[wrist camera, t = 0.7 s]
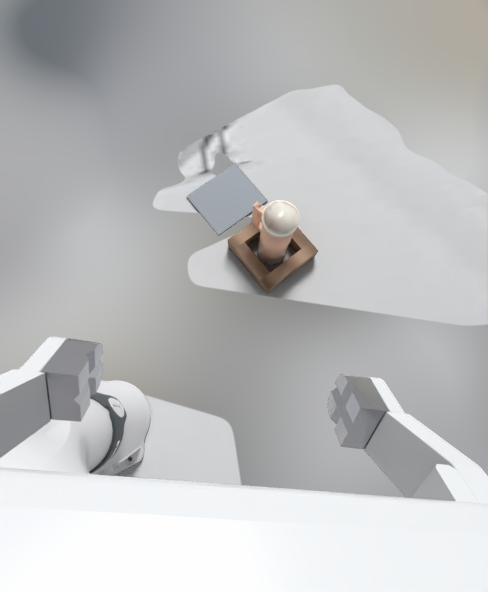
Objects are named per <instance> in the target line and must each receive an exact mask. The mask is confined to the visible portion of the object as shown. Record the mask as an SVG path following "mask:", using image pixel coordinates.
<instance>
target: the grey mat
mask: <svg viewBox="0 0 488 592" xmlns="http://www.w3.org/2000/svg"><path fill="white" fill-rule="evenodd" d="M187 198H188V199H189V200H190V201H191V203H192V204H193V205H194V206H195V208H196V209H197V210H198V211H199V212H200V214H201V215H202V216H203V217H204V219H205V220H206V221H207V222H208V223H209V225H210V226H211V227H212V228H213V230H214V231H215V232H216V233H217V234H218V236H219V235H220V234H222V233H223V232H225V231H226V230H227V229H228V228H230V227H232V226H233V225H234V224H236V223H237V222H239V221H240V220H241V219H243V218H244V217H246V216H247V215H249V214H250V213H251V212H252V210H253V205H254V204H255V203H256V202H257V201H258V202H259V203H260V204H261V205H263V204H264V203H265V202H267V201H268V200H267V199H266V198H265V197H264V195H263V194H262V193H261V192H260V191H259V190H258V189H257V187H256V186H255V185H254V184H253V183H252V182H251V181H250V179H249V178H248V177H247V176H246V175H245V174H244V172H243V171H242V170H241V169H240V168H239V167H238V166H237V164H236V163H235V164H234V165H232V166H231V167H229V168H228V169H226V170H225V171H223V172H222V173H220V174H219V175H217V176H216V177H214V178H213V179H211V180H210V181H208V182H207V183H205V184H204V185H202V186H201V187H199V188H198V189H196V190H195V191H193V192H192V193H191V194H189V195H188V196H187Z"/></svg>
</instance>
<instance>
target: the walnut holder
mask: <svg viewBox="0 0 488 592" xmlns="http://www.w3.org/2000/svg"><path fill="white" fill-rule="evenodd" d="M260 222H261V223H262V216H261V218H260ZM260 233H261V232H259V231H258V230H257V229H256V228H255V227H253V226H252V225H251V224H249V225H248V226H246V227H245V228H244V229H242V230H241V231H239V232H238V233H237V234H235V235H234V236H232V237H231V238H230V239H228V246H229V248H230V249H231V250H232V251H233V253H234V254H235V255H236V256H237V257H238V259H239V260H240V261H241V262H242V264H243V265H244V266H245V267H246V269H247V270H248V271H249V272H250V273H251V275H252V276H253V277H254V278H255V280H256V281H257V282H258V283H259V285H260V286H261V287H262V288H263V289H264V291H265V292H266V293H268V292H269V291H270V290H271V289H273V288H274V287H275V286H277V285H278V284H279V283H281V282H282V281H283V280H285V279H286V278H287V277H288V276H290V275H291V274H292V273H294V272H295V271H296V270H298V269H299V268H300V267H301V266H303V265H304V264H305V263H307V262H308V261H309V260H311V259H312V258H313V257H314V256H315V255H316V254H317V252H318V250H317V249H316V248H315V247H314V245H313V244H312V243H311V242H310V241H309V240H308V239H307V237H306V236H305V235H304V234H303V233H302V232H301V231H300V229H299V228H298V227H297V229H296V230H295V232H294V233H293V236H292V238H291V241H290V243H289V244H290V246H291V247H292V248H293V249H294V250H295V251H296V253H295V254H294V255H293V256H291V257H290V258H289V259H287V260H286V261H285V262H283V263H282V264H281V265H280V266H278V267H277V268H276V269H274V270H273V271H272V272H269V271H268V270H267V269H266V267H265V266H264V265H263V264H262V263H261V261H260V260H259V259H258V258H257V256H256V255H255V254H254V253H253V252H252V250H251V249H250V248H249V247H248V245H249V244H250V243H252V242H253V241H255V240H256V239H257V238H259V237H260Z"/></svg>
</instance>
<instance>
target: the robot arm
mask: <svg viewBox="0 0 488 592" xmlns="http://www.w3.org/2000/svg"><path fill="white" fill-rule="evenodd" d="M102 354H103V346H102V344H101V343H96V342H90V341H83V340H76V339H70V338H69V339H67V338H61V337H54V336H52V337H49V338H47V339H46V341H45V342H44V343H43V344H42V345H41V346H40V347H39V348H38V350H36V352H35V353H34V354H33V355H32V356H31V357H30V358H29V359H28V361H27V362H26V363H25V364H24V365H23V366H22V367H21V368H20V369H19V370H15V369H13V370H11V371H8V372H6V373H4V374H1V375H0V592H488V476H487V475H486V474H485V473H484V472H483V470H482V468H481V467H480V466H478V465H477V464H476V463H474V462H473V461H472V460H470V459H469V458H468V457H466V456H465V455H463V454H462V453H461V452H459V451H458V450H457V449H455V448H454V447H453V446H451V445H450V444H449V443H447V442H446V441H445V440H443V439H442V438H441V437H439V436H438V435H436V434H435V433H434V432H432V431H431V430H430V429H428V428H427V427H426V426H424V425H423V424H422V423H420V422H419V421H418V420H416V419H415V418H414V417H412V416H411V415H409V414H405V413H404V411H403V410H402V408H401V407H400V405H399V403H398V402H397V400H396V399H395V397H394V396H393V394H392V393H391V391H390V390H389V388H388V386H387V385H386V383H385V382H384V381H383V380H382V379H381V378H372V377H360V376H352V375H344V374H340V375H339V376H338V377H337V379H336V382H335V383H336V386H337V388H336V389H334V390H333V391H331V393H330V396H329V398H328V412H329V415H330V418H331V419H332V420H333V421H334V422H335V423H336V424H337V425H336V427H335V432H336V435H337V438H338V440H339V443H340V445H341V447H349V448H358V449H365V450H364V451H365V452H366V453H367V454H368V456H369V457H370V458H371V459H372V460H373V461H374V462H375V463H376V464H377V466H378V467H379V468H380V469H381V470H382V471H383V472H384V474H385V475H386V476H387V477H388V478H389V479H390V480H391V482H392V483H393V484H394V485H395V486H396V487H397V488H398V489H399V491H400V492H401V493H402V494H403V495H404V496H405V497H406V498H405V497H392V496H378V495H365V494H351V493H338V492H324V491H310V490H298V489H285V488H284V489H283V488H271V487H258V486H244V485H231V484H217V483H204V482H190V481H177V480H164V479H150V478H137V477H124V476H114V475H116V474H117V473H119V472H121V471H123V470H125V469H127V468H129V467H130V466H132V465H134V464H136V463H138V462H140V461H141V460H142V458H143V456H144V440H145V437H146V434H147V432H148V429H149V424H150V409H149V405H148V402H147V400H146V398H145V396H144V395H143V393H142V392H141V391H140V390H139V389H138V388H137V387H135V386H134V385H132V384H130V383H127V382H124V381H117V380H116V381H102V380H101V379H102V373H103V364H102V363H101V361H100V358H101V356H102ZM129 457H132V461H130V460H129Z"/></svg>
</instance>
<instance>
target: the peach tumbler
mask: <svg viewBox="0 0 488 592" xmlns="http://www.w3.org/2000/svg"><path fill="white" fill-rule="evenodd" d="M261 216H262V223H261V222H260V218H261ZM299 221H300V215H299V212H298V210H297V208H296V207H295V206H294V205H293V204H291V203H289V202H287V201H283V200H278V201H274V202H271V203H270V204H268V205H267V206H266V207H264V206H263V205H261V204H260V203H259V202H258V201H257V202H256V203H255V204H254V205H253V210H252V221H251V225H252V226H253V227H255V228H256V229H257V230H258V231H259V232H261V233H260V239H259V245H258V256H259V258H260V259H261V260H262V261H263V262H264V263H267V264H276V263H279V262H280V261H281V260H282V259H283V257H284V255H285V253H286V250H287V248H288V245H289V243H290V241H291V238H292V236H293V233H294V232H295V230H296V229H297V227H298V225H299Z"/></svg>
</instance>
